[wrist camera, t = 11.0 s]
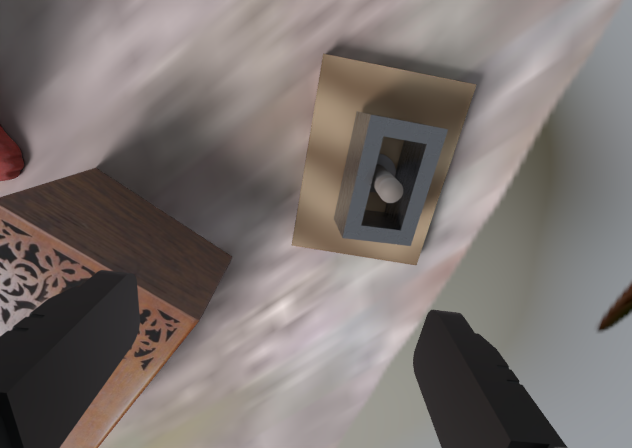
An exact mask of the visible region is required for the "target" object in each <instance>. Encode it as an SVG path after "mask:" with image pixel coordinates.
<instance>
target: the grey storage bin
mask: <svg viewBox="0 0 632 448" xmlns="http://www.w3.org/2000/svg"><path fill="white" fill-rule="evenodd" d="M447 132H448V129H444V128H439V127H435V126H430V125H425V124H420V123H415V122H410V121H405V120H399V119H394V118H389V117H384V116H379V115H373V114H368V113H363V112H358V111H357V112H356V117H355V122H354V126H353V131H352V136H351V140H350V145H349V150H348V154H347V159H346V164H345V168H344V173H343V178H342V182H341V187H340V192H339V196H338V201H337V206H336V210H335V215H334V220H335V223H336V225H337V227H338V229H339V232H340V234H341V236H342V238H346V239H355V240H363V241H371V242H380V243H388V244H397V245H405V246H411V244H412V241H413V237H414V234H415V231H416V228H417V225H418V222H419V219H420V216H421V213H422V209H423V206H424V203H425V200H426V197H427V194H428V191H429V188H430V185H431V181H432V178H433V175H434V172H435V169H436V166H437V163H438V160H439V156H440V153H441V150H442V147H443V144H444V141H445V138H446V135H447ZM383 136H384V137H390V138H396V139H401V140H404V143H403V147H402V151H401V154H400V158H399V161H398V165H397V169H396V175H395V178H396V179H397V180H398V181H399V182H400V183H401V185H402V186H403V195H402V197H401V198H400V199H399V200H398V201H396V202H394V203H387V205H386V209H385V212H378V211H370V210H365V208H366V204H367V200H368V196H369V192H370V188H371V184H372V180H373V176H374V172H375V168H376V164H377V160H378V156H379V152H380V148H381V144H382V140H383Z"/></svg>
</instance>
